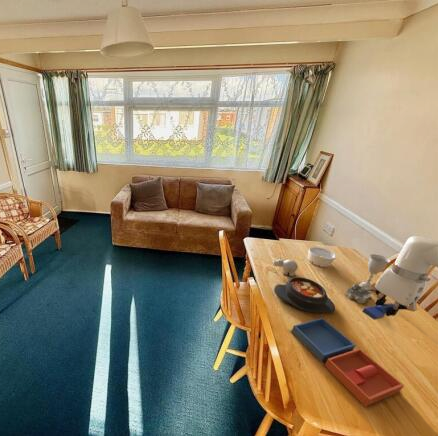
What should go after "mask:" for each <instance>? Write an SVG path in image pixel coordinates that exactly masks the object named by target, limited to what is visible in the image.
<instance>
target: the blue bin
mask: <svg viewBox="0 0 438 436" xmlns="http://www.w3.org/2000/svg"><path fill="white" fill-rule="evenodd" d="M291 333H292V334H293V335H294V336H295V337H296V338H297V339H298V340H299V341H300V342H301V343H302V344H303V345H304V346H305V347H306V348H307V349H308V350H309V351H310V352H311V353H312V354H313V355H314V356H315V358H317V359H318V360H319V361H320V362H321V363H322V362H326V361H327V360H328V359H329V358H332V357H335V356H338V355H341V354H344V353H347V352H350V351H353V350H355V347H356V344H355V343H353V342H352V341H351V340H350V339H349V338H348V337H346V335H344V334H343V333H341V332H340V331H339V329H337V328H336V327H334V326H333V325H332V324H331V323H330V322H328V321H327V320H326V319H325V318H324V317H320V318H317V319H316V318H315V319H313V320H309V321H306V322H301V323H298V324H295V325H293V326H292V329H291Z"/></svg>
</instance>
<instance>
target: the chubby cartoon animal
mask: <svg viewBox="0 0 438 436" xmlns="http://www.w3.org/2000/svg"><path fill="white" fill-rule="evenodd" d="M273 266H274V267H278V268H282V269H283V271H282V274H283V275H285V276H289V277H291V278H293V277H295V275H296V274H295V273H296V272H297V270H298V268H299V266H298V263H297V262H296V261H295V260H292V259H285V260H283V259H282V257H279V259H277V260H275V259H273Z"/></svg>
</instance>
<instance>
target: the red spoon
mask: <svg viewBox="0 0 438 436" xmlns="http://www.w3.org/2000/svg"><path fill="white" fill-rule="evenodd" d="M344 373H345V374H346V375H347V376H348V377H349V378H350V379H351V380H352V381H353V382H354V383H355V384H356V385H357V386H360V385H363V384H364V383H365V381H366V379H368V378H371V377H373V376H376V375H378V374H379V371H378V369H377V368H376V367H375V366H373V365H368V366H365V367H363V368H360V369H357V370H354V369H352V370H349V371H346V372H344Z"/></svg>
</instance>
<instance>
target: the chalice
mask: <svg viewBox="0 0 438 436" xmlns="http://www.w3.org/2000/svg"><path fill="white" fill-rule="evenodd" d="M390 262H391V259H390V258H388V257H385V256H383V255H379V254H375V253H373V254H370V259H369V260H368V263H367V268H368V272H369V273H370V274H369V275H368V278H366V281H362V282H360V283H359V284H358V285H359V286H361V287H363V288H365V289H367V290H368V291H372V290H373V288H372V287H371V285H372V284H371V281H372V279H373V278H374V275H377V274H380V273H382V272H383V271H384V270H385V269H386V266H387V265H388V263H390Z"/></svg>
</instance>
